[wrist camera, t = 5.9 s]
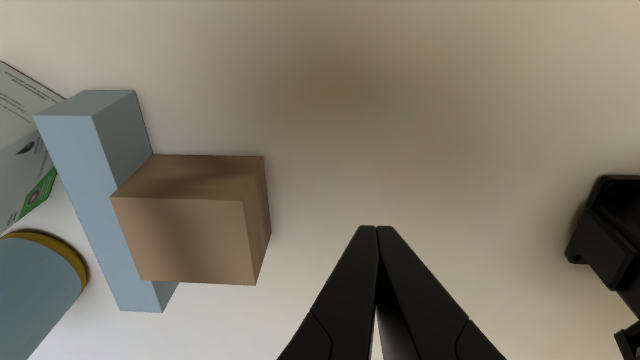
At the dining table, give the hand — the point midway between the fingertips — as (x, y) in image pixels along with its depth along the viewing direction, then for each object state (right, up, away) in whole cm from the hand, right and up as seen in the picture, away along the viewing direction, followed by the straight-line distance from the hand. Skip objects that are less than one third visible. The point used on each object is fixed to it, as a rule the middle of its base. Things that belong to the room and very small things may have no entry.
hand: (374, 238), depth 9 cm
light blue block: (-13, +1, +15) cm, 20 cm away
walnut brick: (-8, +1, +15) cm, 17 cm away
